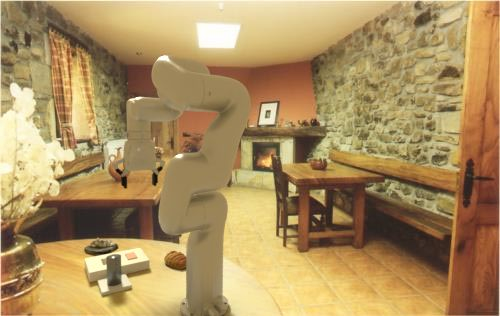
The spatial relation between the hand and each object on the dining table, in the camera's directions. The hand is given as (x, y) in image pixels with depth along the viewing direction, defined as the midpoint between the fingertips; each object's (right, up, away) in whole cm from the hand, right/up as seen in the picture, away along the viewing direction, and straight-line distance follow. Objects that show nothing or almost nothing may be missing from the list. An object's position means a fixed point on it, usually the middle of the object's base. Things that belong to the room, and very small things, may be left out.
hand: (140, 186), depth 108 cm
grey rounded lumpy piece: (-19, -26, +12) cm, 34 cm away
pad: (-3, -28, -14) cm, 32 cm away
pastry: (+12, -27, +2) cm, 30 cm away
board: (-7, -27, -2) cm, 28 cm away
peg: (-3, -27, -14) cm, 31 cm away
